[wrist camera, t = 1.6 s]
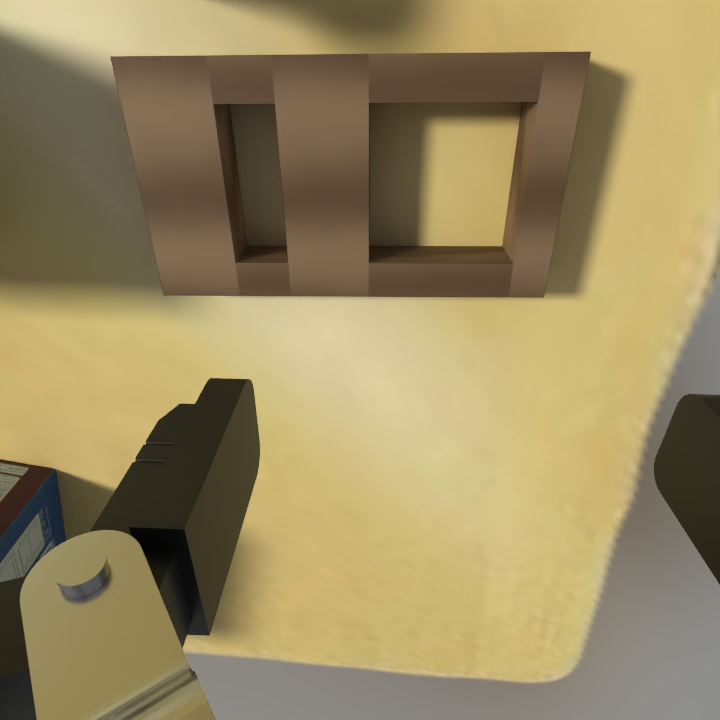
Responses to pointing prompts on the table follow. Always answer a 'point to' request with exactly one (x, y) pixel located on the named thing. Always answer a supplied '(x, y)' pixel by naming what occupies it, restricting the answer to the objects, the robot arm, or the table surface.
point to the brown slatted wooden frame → (337, 169)
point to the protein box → (27, 517)
